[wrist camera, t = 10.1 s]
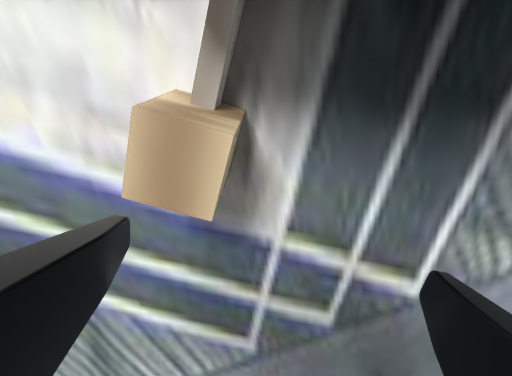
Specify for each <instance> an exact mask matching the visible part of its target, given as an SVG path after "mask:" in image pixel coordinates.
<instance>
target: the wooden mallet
mask: <svg viewBox="0 0 512 376" xmlns="http://www.w3.org/2000/svg"><path fill="white" fill-rule="evenodd" d="M244 3H245V0H210V1H209V6H208V11H207V17H206V22H205V27H204V32H203V38H202V43H201V48H200V53H199V59H198V64H197V69H196V74H195V80H194V85H193V90H192V94H190V93H187V92H184V91H180V90H177V89H176V90H173V91H171V92H168V93H166V94H163V95H160V96H158V97H155V98H153V99H150V100H148V101H145V102H143V103H140V104H137V105H135V106H132V112H131V121H130V130H129V138H128V147H127V155H126V164H125V172H124V181H123V190H122V198H125V199H129V200H132V201H136V202H140V203H144V204H147V205H151V206H155V207H159V208H162V209H166V210H170V211H174V212H178V213H181V214H185V215H189V216H193V217H196V218H200V219H204V220H208V221H211V222H212V219H213V217H214V214H215V211H216V208H217V205H218V202H219V200H220V197H221V194H222V191H223V188H224V186H225V183H226V180H227V177H228V174H229V171H230V167H231V163H232V159H233V156H234V152H235V148H236V144H237V140H238V137H239V133H240V129H241V125H242V121H243V118H244V114H245V109H242V108H238V107H235V106H231V105H228V104H224V103H222V98H223V94H224V90H225V85H226V81H227V77H228V72H229V68H230V64H231V59H232V55H233V51H234V46H235V42H236V38H237V33H238V29H239V24H240V20H241V16H242V11H243V7H244Z"/></svg>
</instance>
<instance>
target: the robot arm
mask: <svg viewBox="0 0 512 376" xmlns="http://www.w3.org/2000/svg"><path fill="white" fill-rule="evenodd" d="M129 244H130V220H129V218H128V217H125V216H119V215H113V216H110V217H107V218H104V219H101V220H98V221H96V222H93V223H90V224H87V225H84V226H81V227H79V228H76V229H73V230H70V231H67V232H64V233H62V234H59V235H56V236H53V237H50V238H47V239H45V240H42V241H39V242H36V243H33V244H30V245H28V246H25V247H22V248H19V249H16V250H13V251H10V252H8V253H5V254H2V255H0V376H53V375H54V373H55V372H56V370H57V369H58V367H59V365H60V364H61V362H62V361H63V359H64V358H65V356H66V355H67V353H68V351H69V350H70V348H71V347H72V345H73V344H74V342H75V341H76V339H77V338H78V336H79V334H80V333H81V331H82V330H83V328H84V327H85V325H86V324H87V322H88V321H89V319H90V317H91V316H92V314H93V313H94V311H95V310H96V308H97V307H98V305H99V303H100V302H101V300H102V299H103V297H104V295H105V294H106V292H107V290H108V288H109V286H110V285H111V283H112V281H113V278H114V276H115V274H116V272H117V270H118V268H119V266H120V264H121V262H122V260H123V258H124V256H125V254H126V252H127V250H128V248H129ZM419 297H420V302H421V306H422V310H423V313H424V317H425V321H426V324H427V328H428V331H429V335H430V339H431V342H432V345H433V348H434V351H435V354H436V357H437V359H438V362H439V365H440V367H441V370H442V372H443V375H444V376H512V314H510V313H509V312H507V311H506V310H504V309H503V308H501V307H499V306H498V305H496V304H495V303H493V302H492V301H490V300H489V299H487V298H485V297H484V296H482V295H481V294H479V293H478V292H476V291H475V290H473V289H472V288H470V287H468V286H467V285H465V284H464V283H462V282H461V281H459V280H458V279H456V278H455V277H453V276H451V275H450V274H448V273H446V272H441V271H435V270H434V271H431V272H430V273H429V274H428V276H427V278H426V280H425V282H424V284H423V286H422V288H421V291H420V295H419Z"/></svg>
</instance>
